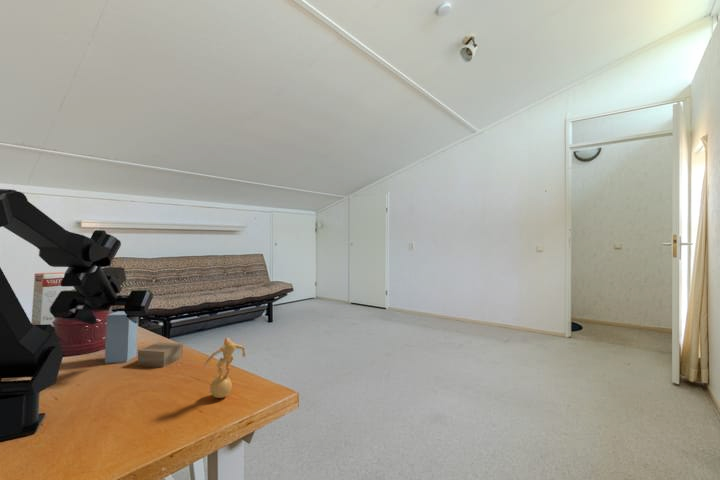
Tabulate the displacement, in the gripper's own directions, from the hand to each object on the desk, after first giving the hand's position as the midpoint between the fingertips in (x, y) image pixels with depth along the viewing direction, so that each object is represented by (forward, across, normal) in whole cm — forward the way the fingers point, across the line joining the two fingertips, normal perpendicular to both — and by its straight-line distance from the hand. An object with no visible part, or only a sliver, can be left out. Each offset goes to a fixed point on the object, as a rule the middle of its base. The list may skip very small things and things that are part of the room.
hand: (116, 322), depth 80 cm
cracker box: (+26, +26, -11) cm, 38 cm away
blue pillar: (+10, 0, +5) cm, 11 cm away
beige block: (+7, -10, +8) cm, 15 cm away
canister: (+18, +15, -3) cm, 23 cm away
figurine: (-10, -30, +25) cm, 40 cm away
